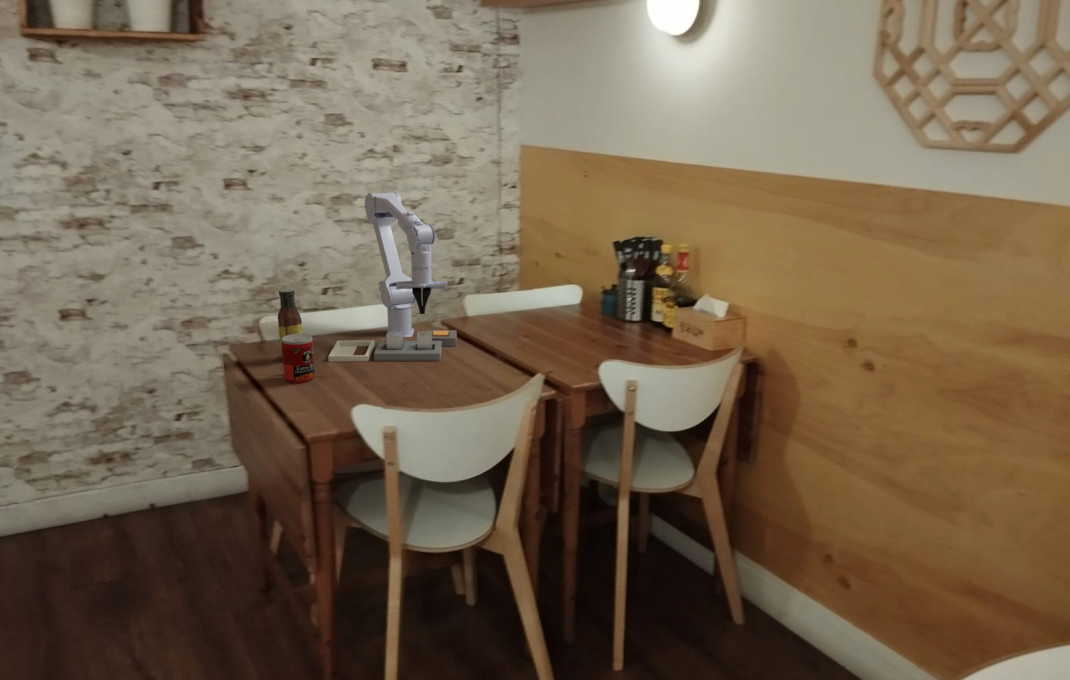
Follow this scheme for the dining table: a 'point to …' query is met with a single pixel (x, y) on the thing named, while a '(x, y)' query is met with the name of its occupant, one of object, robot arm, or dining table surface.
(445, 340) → the button housing
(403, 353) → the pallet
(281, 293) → the sauce bottle
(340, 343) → the tray
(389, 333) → the steel block
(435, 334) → the button
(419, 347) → the block
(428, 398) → the dining table surface
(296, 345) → the canned food
